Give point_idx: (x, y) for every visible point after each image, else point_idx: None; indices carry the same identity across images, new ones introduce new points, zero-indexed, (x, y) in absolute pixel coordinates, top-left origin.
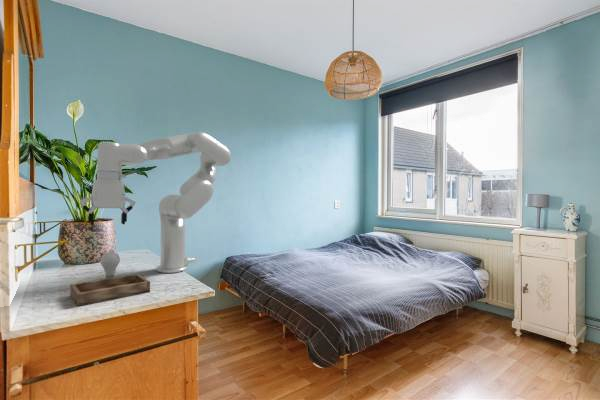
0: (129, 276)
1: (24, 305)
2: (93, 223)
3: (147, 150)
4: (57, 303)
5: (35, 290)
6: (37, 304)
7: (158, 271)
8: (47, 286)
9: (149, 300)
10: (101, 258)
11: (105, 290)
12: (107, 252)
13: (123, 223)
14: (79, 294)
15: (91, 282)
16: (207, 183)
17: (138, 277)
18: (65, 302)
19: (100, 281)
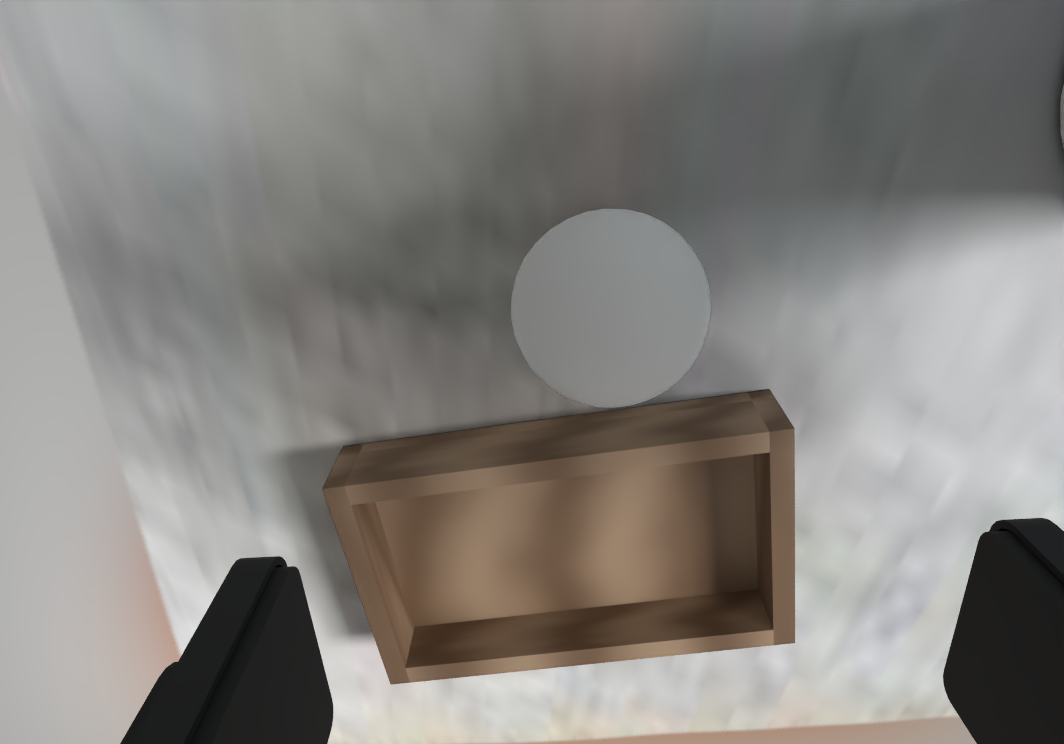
0: (716, 457)
1: (139, 500)
2: (322, 741)
3: None
4: (300, 545)
5: (83, 211)
6: (201, 514)
7: (1060, 121)
8: (134, 132)
9: (726, 698)
10: (520, 345)
11: (528, 666)
12: (586, 348)
13: (963, 702)
14: (399, 682)
15: (452, 490)
16: None
17: (768, 498)
18: (337, 548)
19: (510, 480)
